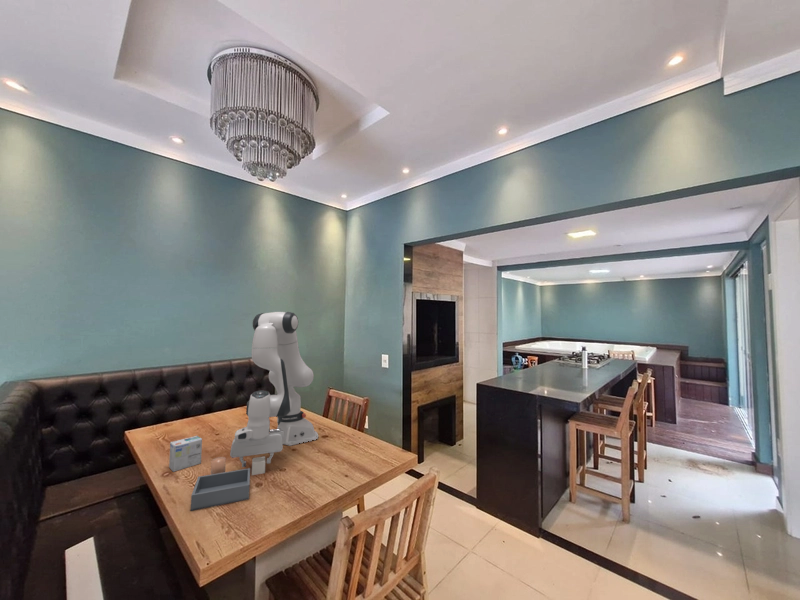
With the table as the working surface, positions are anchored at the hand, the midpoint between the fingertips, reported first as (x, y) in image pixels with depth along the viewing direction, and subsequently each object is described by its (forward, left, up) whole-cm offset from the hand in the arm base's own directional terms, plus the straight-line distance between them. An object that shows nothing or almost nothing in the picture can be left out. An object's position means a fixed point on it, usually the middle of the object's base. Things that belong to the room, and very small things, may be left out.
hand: (256, 464), depth 132 cm
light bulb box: (+28, -18, -3) cm, 34 cm away
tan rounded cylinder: (+14, -1, -3) cm, 14 cm away
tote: (+11, +14, -3) cm, 18 cm away
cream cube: (-1, 0, -3) cm, 3 cm away
